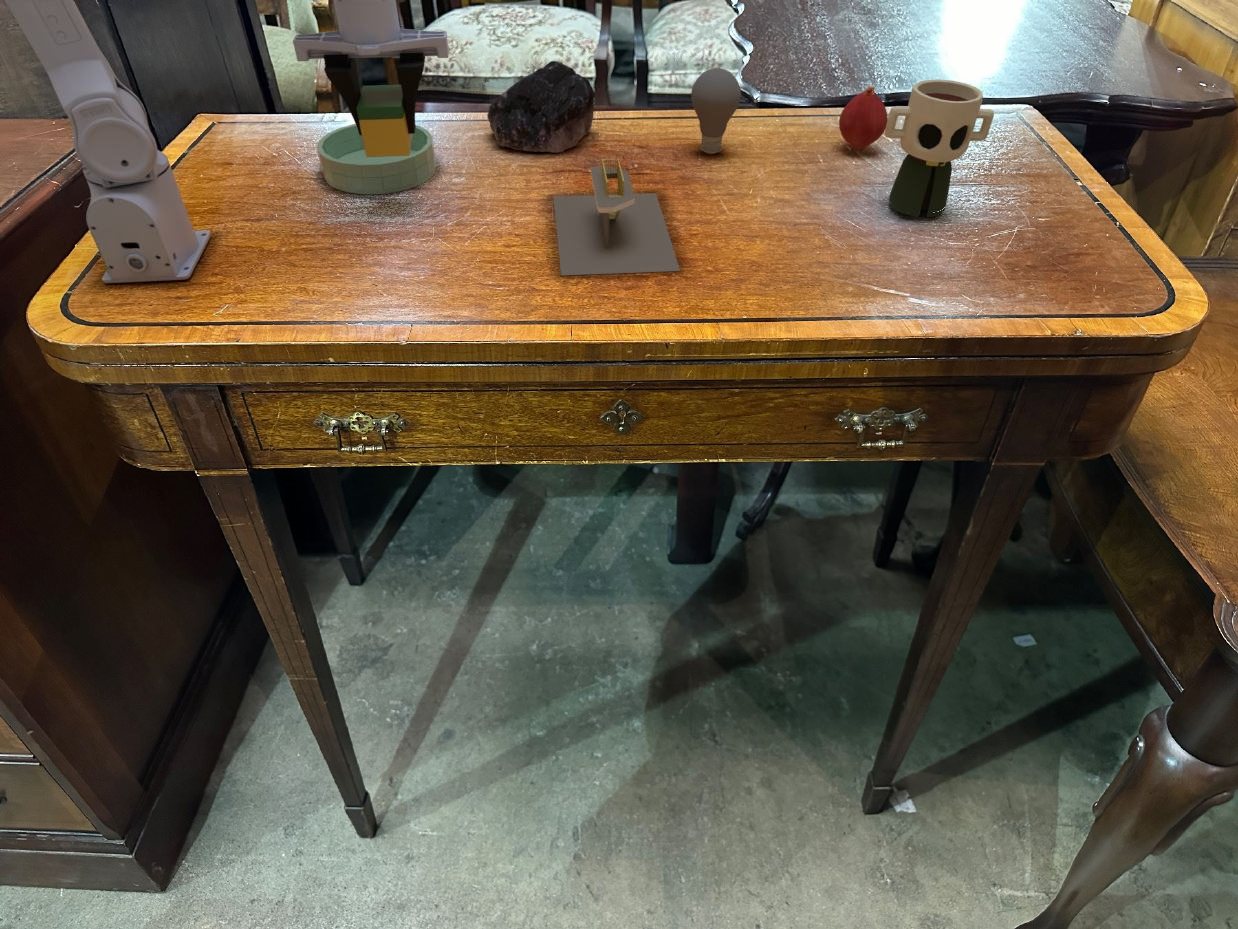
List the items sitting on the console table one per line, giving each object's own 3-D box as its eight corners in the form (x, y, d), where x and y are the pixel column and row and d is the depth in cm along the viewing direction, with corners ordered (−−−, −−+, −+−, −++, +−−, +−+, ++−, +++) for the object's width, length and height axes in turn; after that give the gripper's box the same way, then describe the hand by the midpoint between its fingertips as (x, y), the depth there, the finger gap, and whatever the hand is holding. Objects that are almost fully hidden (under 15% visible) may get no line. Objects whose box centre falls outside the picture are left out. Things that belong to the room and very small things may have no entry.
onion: (825, 144, 107) (837, 79, 101) (864, 139, 108) (878, 75, 103) (847, 161, 103) (861, 95, 97) (888, 156, 104) (904, 91, 99)
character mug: (872, 221, 91) (902, 100, 82) (861, 193, 96) (888, 76, 87) (971, 225, 90) (1012, 104, 82) (955, 197, 96) (991, 80, 87)
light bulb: (678, 147, 105) (684, 64, 98) (719, 140, 107) (727, 58, 100) (701, 165, 101) (708, 80, 94) (743, 157, 103) (753, 73, 96)
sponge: (409, 155, 85) (401, 106, 81) (366, 157, 84) (356, 107, 81) (412, 132, 89) (405, 84, 86) (371, 133, 89) (362, 85, 86)
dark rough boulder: (474, 134, 109) (462, 57, 102) (561, 106, 114) (556, 31, 106) (523, 177, 102) (514, 98, 94) (613, 146, 107) (612, 68, 99)
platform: (655, 193, 95) (658, 136, 91) (680, 270, 82) (684, 209, 78) (553, 196, 94) (550, 138, 90) (561, 275, 81) (558, 212, 77)
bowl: (434, 192, 94) (429, 162, 92) (316, 196, 93) (309, 166, 91) (438, 147, 104) (434, 119, 102) (331, 150, 103) (325, 122, 100)
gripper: (274, -4, 73) (310, 148, 82) (439, -6, 75) (456, 143, 84) (287, -23, 78) (320, 122, 87) (441, -25, 80) (457, 117, 89)
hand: (387, 130), depth 86 cm, fingers closed on sponge, 4 cm apart
